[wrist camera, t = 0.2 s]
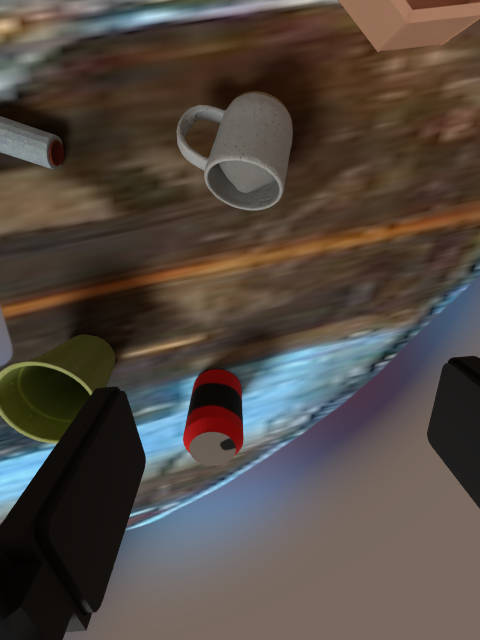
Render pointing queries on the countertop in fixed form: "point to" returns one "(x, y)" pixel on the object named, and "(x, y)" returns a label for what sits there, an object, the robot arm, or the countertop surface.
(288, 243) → the countertop surface
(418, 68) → the countertop surface
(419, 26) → the bowl
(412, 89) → the countertop surface
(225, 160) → the ceramic mug
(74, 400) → the plant pot
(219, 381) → the soda can
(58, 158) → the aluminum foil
